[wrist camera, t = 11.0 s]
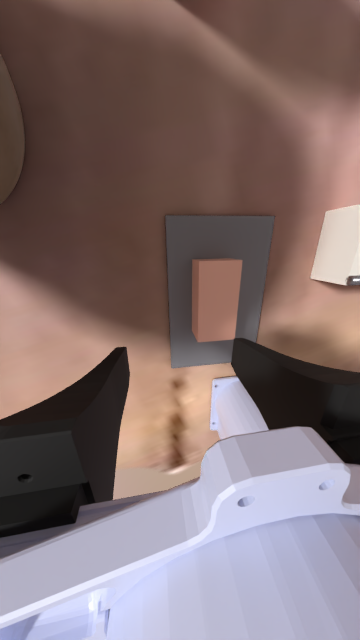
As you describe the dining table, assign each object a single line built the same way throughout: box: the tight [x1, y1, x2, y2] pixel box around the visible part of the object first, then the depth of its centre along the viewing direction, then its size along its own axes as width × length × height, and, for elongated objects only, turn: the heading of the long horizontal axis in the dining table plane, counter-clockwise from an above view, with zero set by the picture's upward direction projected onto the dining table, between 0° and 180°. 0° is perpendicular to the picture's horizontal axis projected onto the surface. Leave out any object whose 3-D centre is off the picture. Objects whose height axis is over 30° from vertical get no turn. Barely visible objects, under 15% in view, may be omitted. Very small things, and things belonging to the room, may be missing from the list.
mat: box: [165, 215, 275, 368], centre depth 21 cm, size 17×11×1 cm, turn 1°
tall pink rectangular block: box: [192, 258, 243, 342], centre depth 19 cm, size 8×4×3 cm, turn 1°
